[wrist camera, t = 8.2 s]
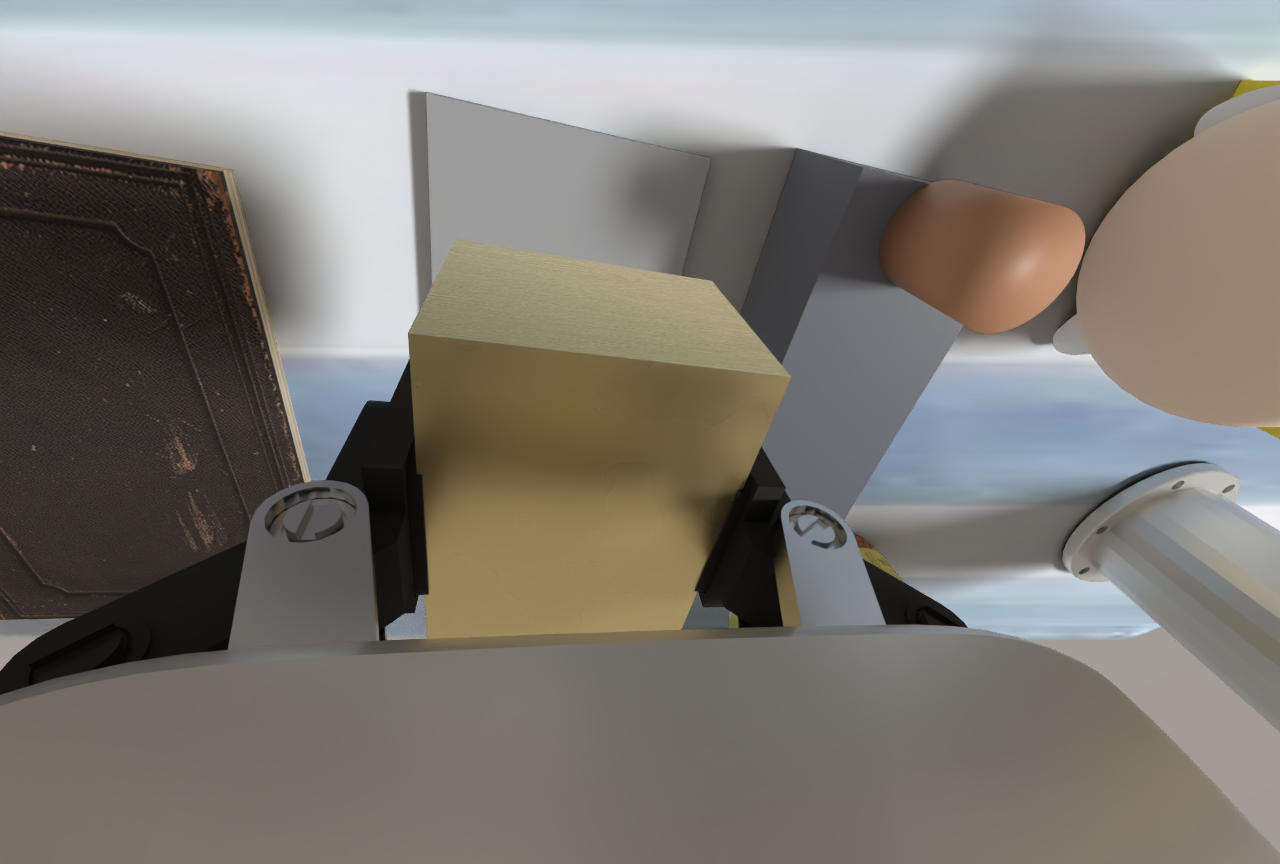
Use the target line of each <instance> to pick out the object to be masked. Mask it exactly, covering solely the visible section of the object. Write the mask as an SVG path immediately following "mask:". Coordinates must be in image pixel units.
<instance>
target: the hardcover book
mask: <svg viewBox="0 0 1280 864" xmlns="http://www.w3.org/2000/svg"><path fill="white" fill-rule="evenodd" d="M310 481H311V480H310V476H309V472H308V468H307V463H306V459H305V455H304V451H303V447H302V443H301V439H300V435H299V431H298V427H297V423H296V419H295V415H294V411H293V407H292V403H291V399H290V395H289V391H288V387H287V383H286V379H285V375H284V371H283V367H282V363H281V359H280V355H279V351H278V347H277V343H276V339H275V335H274V331H273V327H272V323H271V319H270V315H269V311H268V307H267V303H266V299H265V295H264V291H263V287H262V283H261V279H260V275H259V271H258V267H257V263H256V259H255V255H254V251H253V247H252V243H251V239H250V235H249V231H248V227H247V223H246V219H245V215H244V211H243V207H242V203H241V199H240V195H239V191H238V187H237V183H236V179H235V175H234V171H233V170H232V169H226V168H219V167H213V166H207V165H201V164H195V163H189V162H183V161H176V160H170V159H164V158H158V157H152V156H146V155H140V154H133V153H127V152H121V151H115V150H109V149H103V148H97V147H90V146H84V145H78V144H72V143H66V142H60V141H53V140H47V139H41V138H35V137H29V136H23V135H17V134H10V133H4V132H0V620H12V619H51V618H77V617H79V616H81V615H84V614H86V613H88V612H90V611H92V610H95V609H97V608H99V607H101V606H103V605H106V604H108V603H110V602H112V601H114V600H117V599H119V598H121V597H123V596H125V595H128V594H130V593H132V592H134V591H136V590H139V589H141V588H143V587H145V586H147V585H150V584H152V583H154V582H156V581H158V580H161V579H163V578H165V577H167V576H169V575H172V574H174V573H176V572H178V571H180V570H183V569H185V568H187V567H189V566H191V565H194V564H196V563H198V562H200V561H202V560H205V559H207V558H209V557H211V556H213V555H216V554H218V553H220V552H222V551H224V550H227V549H229V548H231V547H233V546H235V545H238V544H240V543H242V542H244V541H246V540H247V539H248V534H249V528H250V522H251V520H252V517H253V515H254V513H255V511H256V509H257V508H258V507H259V506H260V505H261V504H262V503H263V502H264V501H265V500H266V499H268V498H269V497H271V496H272V495H274V494H276V493H277V492H279V491H281V490H283V489H286V488H288V487H291V486H294V485H296V484H301V483H305V482H310Z"/></svg>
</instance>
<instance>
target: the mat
mask: <svg viewBox="0 0 1280 864" xmlns="http://www.w3.org/2000/svg"><path fill="white" fill-rule="evenodd" d="M426 106H427V138H428V171H429V203H430V236H431V269H432V285H433V283H434V281H435V279H436V277H437V275H438V273H439V271H440V269H441V267H442V265H443V263H444V261H445V259H446V257H447V255H448V253H449V251H450V249H451V247H452V245H453V243H454V241H455V239H459V240H465V241H471V242H477V243H483V244H490V245H496V246H502V247H508V248H514V249H520V250H526V251H532V252H538V253H545V254H551V255H557V256H563V257H569V258H575V259H581V260H587V261H593V262H600V263H606V264H612V265H618V266H624V267H630V268H636V269H642V270H648V271H654V272H661V273H667V274H673V275H679V276H681V275H682V271H683V267H684V263H685V259H686V255H687V252H688V248H689V244H690V240H691V236H692V232H693V228H694V224H695V220H696V217H697V213H698V209H699V205H700V201H701V197H702V193H703V189H704V186H705V182H706V178H707V174H708V170H709V166H710V162H711V159H709V158H707V157H704V156H699V155H695V154H691V153H686V152H682V151H678V150H674V149H669V148H665V147H661V146H656V145H652V144H648V143H644V142H639V141H635V140H631V139H626V138H622V137H618V136H614V135H609V134H605V133H601V132H596V131H592V130H588V129H584V128H579V127H575V126H571V125H566V124H562V123H558V122H554V121H549V120H545V119H541V118H536V117H532V116H528V115H524V114H519V113H515V112H511V111H506V110H502V109H498V108H494V107H489V106H485V105H481V104H476V103H472V102H468V101H463V100H459V99H455V98H451V97H446V96H442V95H438V94H433V93H426Z"/></svg>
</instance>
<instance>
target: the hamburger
mask: <svg viewBox="0 0 1280 864" xmlns="http://www.w3.org/2000/svg"><path fill="white" fill-rule="evenodd" d="M1076 306H1077V314H1075V315H1074V316H1073V317H1072V318H1071V319H1069V320H1068V321H1067V322H1066V323H1065V324H1063V325H1062V326H1061V327H1060V328H1059V329H1058V330H1057V331H1056V332H1055V334H1054V336H1053V345H1054V347H1055V349H1056V350H1058V351H1059V352H1062V353H1065V354H1069V355H1081V354H1091V355H1092V357H1093V358H1094V360H1095V361H1096V362H1097V364H1098V365H1099V366H1100V368H1101V369H1102V370H1103V371H1104V373H1105V374H1106V375H1107V376H1108V377H1109V378H1111V379H1112V380H1113V381H1114V382H1115V383H1116V384H1117V385H1118V386H1119V387H1121V388H1122V389H1123V390H1125V391H1126V392H1128V393H1130V394H1131V395H1133V396H1134V397H1136V398H1137V399H1139V400H1141V401H1142V402H1144V403H1146V404H1148V405H1150V406H1153V407H1155V408H1157V409H1160V410H1162V411H1164V412H1167V413H1169V414H1172V415H1176V416H1180V417H1183V418H1187V419H1191V420H1195V421H1198V422H1202V423H1210V424H1218V425H1225V426H1233V427H1257V428H1259V429H1261V430H1263V431H1265V432H1267V433H1269V434H1271V435H1273V436H1275V437H1277V438H1279V439H1280V81H1241V82H1240V84H1239V86H1238V88H1237V89H1236V91H1235V93H1234V94H1233V96H1232V98H1231V99H1229V100H1227V101H1225V102H1223V103H1221V104H1219V105H1217V106H1215V107H1213V108H1212V109H1210V110H1209V111H1208V112H1206V113H1205V114H1204V115H1203V116H1202V117H1201V118H1200V120H1199V122H1198V123H1197V125H1196V127H1195V132H1194V138H1192V139H1190V140H1189V141H1187V142H1185V143H1184V144H1182V145H1180V146H1179V147H1177V148H1176V149H1174V150H1173V151H1172V152H1170V153H1169V154H1168V155H1167V156H1165V157H1164V158H1163V159H1161V160H1160V161H1159V162H1157V163H1156V164H1155V165H1153V166H1152V167H1151V168H1149V169H1148V170H1147V171H1146V172H1145V173H1144V174H1143V175H1142V176H1141V177H1140V178H1139V179H1138V180H1137V181H1136V182H1135V183H1134V184H1133V185H1132V186H1130V187H1129V188H1128V189H1127V190H1126V191H1125V193H1124V194H1123V195H1122V196H1121V198H1120V199H1119V200H1118V201H1117V202H1116V204H1115V205H1114V206H1113V207H1112V209H1111V210H1110V211H1109V212H1108V213H1107V215H1106V216H1105V218H1104V220H1103V221H1102V223H1101V224H1100V226H1099V228H1098V229H1097V231H1096V232H1095V234H1094V236H1093V238H1092V240H1091V242H1090V245H1089V247H1088V249H1087V251H1086V254H1085V256H1084V258H1083V262H1082V266H1081V270H1080V273H1079V277H1078V284H1077V294H1076Z"/></svg>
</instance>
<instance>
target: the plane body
mask: <svg viewBox="0 0 1280 864" xmlns="http://www.w3.org/2000/svg"><path fill="white" fill-rule="evenodd" d="M1084 246H1085V229H1084V225H1083V222H1082V220H1081V219H1080V217H1079V216H1078V215H1077V214H1076V213H1075V212H1074V211H1073V210H1071V209H1069V208H1066V207H1064V206H1060V205H1056V204H1052V203H1048V202H1044V201H1040V200H1036V199H1032V198H1028V197H1024V196H1020V195H1016V194H1012V193H1009V192H1005V191H1001V190H997V189H993V188H989V187H985V186H981V185H977V184H973V183H969V182H965V181H961V180H956V179H944V180H939V181H936V182H930V181H926V180H922V179H918V178H914V177H910V176H906V175H902V174H898V173H894V172H890V171H886V170H882V169H878V168H874V167H870V166H866V165H862V164H858V163H854V162H850V161H846V160H842V159H838V158H834V157H830V156H826V155H822V154H818V153H814V152H810V151H806V150H802V149H798V148H797V150H796V153H795V155H794V158H793V161H792V164H791V167H790V170H789V173H788V176H787V179H786V182H785V185H784V188H783V191H782V194H781V197H780V200H779V202H778V205H777V208H776V211H775V214H774V217H773V220H772V223H771V226H770V229H769V232H768V235H767V238H766V241H765V244H764V247H763V249H762V252H761V255H760V258H759V261H758V264H757V267H756V270H755V273H754V276H753V279H752V282H751V285H750V288H749V291H748V293H747V296H746V299H745V302H744V305H743V308H742V311H741V314H740V315H741V317H742V318H743V319H744V320H745V322H746V323H747V324H748V325H749V326H750V328H751V329H752V330H753V331H754V332H755V334H756V335H757V336H758V337H759V338H760V340H761V341H762V342H763V343H764V345H765V346H766V347H767V348H768V349H769V351H770V352H771V353H772V354H773V355H774V357H775V358H776V359H777V360H778V361H779V363H780V364H781V365H782V366H783V368H784V369H785V370H786V371H787V372H788V374H789V375H790V376H791V379H790V382H789V384H788V386H787V388H786V391H785V393H784V395H783V398H782V400H781V402H780V404H779V407H778V409H777V411H776V414H775V416H774V418H773V420H772V423H771V425H770V427H769V430H768V432H767V434H766V436H765V439H764V441H763V443H762V448H763V450H764V452H765V453H766V455H767V457H768V458H769V460H770V462H771V463H772V465H773V467H774V468H775V470H776V472H777V473H778V475H779V477H780V478H781V480H782V482H783V484H784V485H785V487H786V489H785V491H786V493H787V495H788V496H789V498H790V500H791V501H795V500H805V501H811V502H814V503H817V504H820V505H823V506H825V507H826V508H828V509H830V510H832V511H833V512H835V513H836V514H837V515H839V516H840V517H841V518H842V519H843V520H844V518H845V517H846V515H847V514H848V512H849V510H850V509H851V507H852V506H853V504H854V502H855V501H856V499H857V497H858V496H859V494H860V493H861V491H862V489H863V488H864V486H865V485H866V483H867V481H868V480H869V478H870V476H871V475H872V473H873V472H874V470H875V468H876V467H877V465H878V463H879V462H880V460H881V459H882V457H883V455H884V454H885V452H886V451H887V449H888V447H889V446H890V444H891V442H892V441H893V439H894V438H895V436H896V434H897V433H898V431H899V430H900V428H901V426H902V425H903V423H904V421H905V420H906V418H907V417H908V415H909V413H910V412H911V410H912V409H913V407H914V405H915V404H916V402H917V400H918V399H919V397H920V396H921V394H922V392H923V391H924V389H925V387H926V386H927V384H928V383H929V381H930V379H931V378H932V376H933V375H934V373H935V371H936V370H937V368H938V366H939V365H940V363H941V362H942V360H943V358H944V357H945V355H946V354H947V352H948V350H949V349H950V347H951V345H952V344H953V342H954V341H955V339H956V337H957V336H958V334H959V333H960V331H961V329H962V328H963V326H965V327H967V328H969V329H970V330H972V331H975V332H978V333H982V334H995V333H1001V332H1005V331H1008V330H1011V329H1013V328H1016V327H1018V326H1020V325H1022V324H1024V323H1026V322H1027V321H1029V320H1031V319H1032V318H1034V317H1035V316H1036V315H1038V314H1039V313H1041V312H1042V311H1043V310H1044V309H1045V308H1047V307H1048V306H1049V305H1050V304H1051V303H1052V302H1053V301H1054V300H1055V299H1056V298H1057V297H1058V296H1059V294H1060V293H1061V292H1062V291H1063V290H1064V288H1065V287H1066V286H1067V284H1068V283H1069V281H1070V280H1071V278H1072V277H1073V275H1074V273H1075V271H1076V269H1077V267H1078V265H1079V263H1080V260H1081V257H1082V254H1083V251H1084Z"/></svg>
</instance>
